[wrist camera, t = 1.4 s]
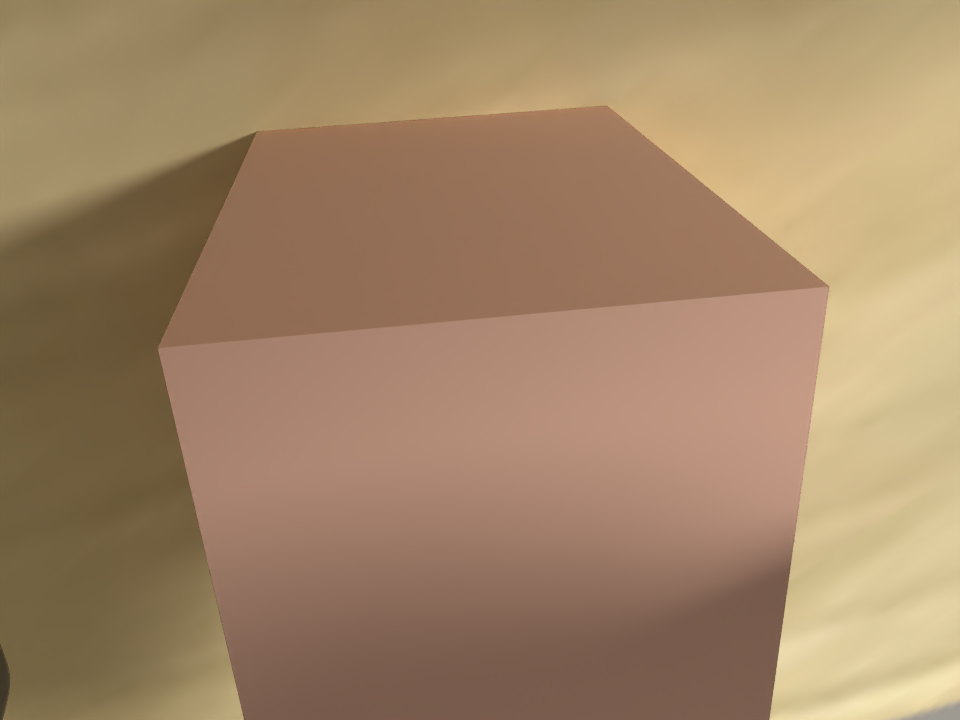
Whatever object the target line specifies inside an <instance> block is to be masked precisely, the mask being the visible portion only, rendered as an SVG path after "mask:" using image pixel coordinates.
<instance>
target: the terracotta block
mask: <svg viewBox="0 0 960 720" xmlns="http://www.w3.org/2000/svg"><path fill="white" fill-rule="evenodd" d="M828 292H829V286H828V285H827V284H825V283H824V282H823V281H822V280H820V279H819V278H818V277H817V276H816V275H814V274H813V273H812V272H811V271H809V270H808V269H807V268H806V267H805V266H803V265H802V264H801V263H800V262H798V261H797V260H796V259H795V258H793V257H792V256H791V255H790V254H789V253H787V252H786V251H785V250H784V249H782V248H781V247H780V246H779V245H778V244H776V243H775V242H774V241H773V240H771V239H770V238H769V237H768V236H766V235H765V234H764V233H763V232H762V231H760V230H759V229H758V228H757V227H755V226H754V225H753V224H752V223H751V222H749V221H748V220H747V219H746V218H744V217H743V216H742V215H741V214H739V213H738V212H737V211H736V210H735V209H733V208H732V207H731V206H730V205H728V204H727V203H726V202H725V201H724V200H722V199H721V198H720V197H719V196H717V195H716V194H715V193H714V192H712V191H711V190H710V189H709V188H708V187H706V186H705V185H704V184H703V183H701V182H700V181H699V180H698V179H697V178H695V177H694V176H693V175H692V174H690V173H689V172H688V171H687V170H685V169H684V168H683V167H682V166H681V165H679V164H678V163H677V162H676V161H674V160H673V159H672V158H671V157H670V156H668V155H667V154H666V153H665V152H663V151H662V150H661V149H660V148H658V147H657V146H656V145H655V144H654V143H652V142H651V141H650V140H649V139H647V138H646V137H645V136H644V135H642V134H641V133H640V132H639V131H638V130H636V129H635V128H634V127H633V126H631V125H630V124H629V123H628V122H627V121H625V120H624V119H623V118H622V117H620V116H619V115H618V114H617V113H615V112H614V111H613V110H612V109H611V108H609V107H608V106H597V107H584V108H570V109H556V110H543V111H529V112H516V113H502V114H488V115H475V116H461V117H448V118H434V119H420V120H407V121H393V122H380V123H366V124H352V125H339V126H325V127H312V128H298V129H284V130H271V131H257V133H256V135H255V137H254V139H253V141H252V144H251V146H250V148H249V150H248V152H247V154H246V157H245V159H244V161H243V163H242V165H241V168H240V170H239V172H238V174H237V176H236V178H235V181H234V183H233V185H232V187H231V189H230V192H229V194H228V196H227V198H226V200H225V202H224V205H223V207H222V209H221V211H220V213H219V216H218V218H217V220H216V222H215V224H214V226H213V229H212V231H211V233H210V235H209V237H208V239H207V242H206V244H205V246H204V248H203V250H202V253H201V255H200V257H199V259H198V261H197V263H196V266H195V268H194V270H193V272H192V274H191V277H190V279H189V281H188V283H187V285H186V287H185V290H184V292H183V294H182V296H181V298H180V301H179V303H178V305H177V307H176V309H175V311H174V314H173V316H172V318H171V320H170V322H169V324H168V327H167V329H166V331H165V333H164V335H163V338H162V340H161V342H160V344H159V346H158V352H159V356H160V360H161V365H162V369H163V373H164V378H165V382H166V386H167V390H168V395H169V399H170V403H171V408H172V412H173V416H174V420H175V425H176V429H177V433H178V438H179V442H180V446H181V450H182V455H183V459H184V463H185V468H186V472H187V476H188V481H189V485H190V489H191V493H192V498H193V502H194V506H195V511H196V515H197V519H198V523H199V528H200V532H201V536H202V541H203V545H204V549H205V553H206V558H207V562H208V566H209V571H210V575H211V579H212V583H213V588H214V592H215V596H216V601H217V605H218V609H219V613H220V618H221V622H222V626H223V631H224V635H225V639H226V644H227V648H228V652H229V656H230V661H231V665H232V669H233V674H234V678H235V682H236V686H237V691H238V695H239V699H240V704H241V708H242V712H243V716H244V720H769V718H770V710H771V703H772V696H773V689H774V682H775V674H776V667H777V660H778V653H779V645H780V638H781V631H782V624H783V617H784V609H785V602H786V595H787V588H788V581H789V573H790V566H791V559H792V552H793V544H794V537H795V530H796V523H797V516H798V508H799V501H800V494H801V487H802V480H803V472H804V465H805V458H806V451H807V443H808V436H809V429H810V422H811V415H812V407H813V400H814V393H815V386H816V379H817V371H818V364H819V357H820V350H821V343H822V335H823V328H824V321H825V314H826V306H827V299H828Z"/></svg>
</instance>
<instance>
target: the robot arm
mask: <svg viewBox="0 0 960 720" xmlns="http://www.w3.org/2000/svg"><path fill="white" fill-rule="evenodd" d="M9 687H10V674H9V668H8V664H7V661H6V658H5V656H4V653H3V650H2V648H1V645H0V720H3V717H4V713H5V709H6V704H7V700H8V695H9Z"/></svg>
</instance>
